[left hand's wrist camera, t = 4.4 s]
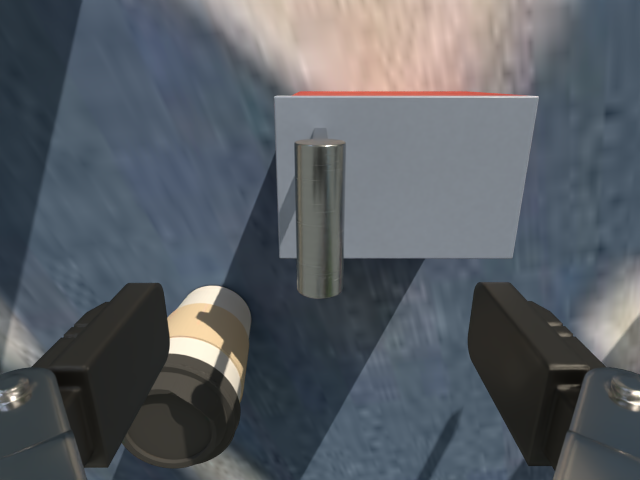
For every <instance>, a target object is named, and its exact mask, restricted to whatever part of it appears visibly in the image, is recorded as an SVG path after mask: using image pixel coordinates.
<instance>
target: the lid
mask: <svg viewBox="0 0 640 480" xmlns="http://www.w3.org/2000/svg"><path fill="white" fill-rule="evenodd" d="M538 99H539V97H538V96H275V97H274V117H275V146H276V174H277V203H278V232H279V257H280V258H297V289H298V291H299V293H300V294H302V295H304V296H306V297H309V298H315V299H325V298H331V297H334V296H337V295H339V294H340V293H341V292H342V290H343V271H344V258H485V259H511V258H512V257H513V251H514V245H515V238H516V232H517V226H518V220H519V214H520V208H521V202H522V196H523V190H524V184H525V178H526V172H527V166H528V160H529V153H530V147H531V141H532V135H533V129H534V123H535V117H536V111H537V105H538Z"/></svg>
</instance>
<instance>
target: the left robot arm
mask: <svg viewBox="0 0 640 480" xmlns="http://www.w3.org/2000/svg"><path fill="white" fill-rule="evenodd" d="M169 349H170V334H169V327H168V320H167V313H166V305H165V298H164V292H163V288H162V286H161V284H159V283H128V284H126V285H125V286H124V287H123V288H122V289H121V290H120V291H119V293H118V294H117V295H116V296H115V297H114V298H113V299H112V300H111V301H110V302H105V303H103V304H101V305H99V306H97V307H96V308H94V309H92V310H90V311H88V312H87V313H86V314H85V315H84V316H83V317H82V318H81V319H80V320H79V321H77V322H76V323H75V324H74V327H71V328H70V329H69V330H68V331H67V332H66V333H65V334H64V338H60V339H59V340H58V341H57V342H56V343H55V344H54V345H53V346H52V347H51V348H50V349H49V350H48V351H47V352H46V353H45V354H44V355H43V356H42V357H41V358H40V359H39V360H38V361H37V362H36V363H35V364H34V365H33V366H32V367H30V368H22V369H17V370H13V371H10V372H6V373H4V374H1V375H0V480H87V477H86V474H85V471H84V468H108V467H109V465H110V463H111V461H112V459H113V458H114V456H115V454H116V452H117V450H118V448H119V447H120V445H121V443H122V441H123V439H124V437H125V436H126V434H127V432H128V430H129V428H130V427H131V425H132V423H133V421H134V419H135V417H136V416H137V414H138V412H139V410H140V408H141V407H142V405H143V403H144V401H145V399H146V397H147V396H148V394H149V392H150V390H151V388H152V387H153V385H154V383H155V381H156V379H157V377H158V376H159V374H160V372H161V370H162V368H163V366H164V365H165V363H166V361H167V358H168V355H169ZM468 350H469V355H470V358H471V361H472V363H473V364H474V366H475V368H476V370H477V372H478V374H479V376H480V377H481V379H482V381H483V383H484V385H485V387H486V388H487V390H488V392H489V394H490V396H491V398H492V399H493V401H494V403H495V405H496V407H497V409H498V411H499V412H500V414H501V416H502V418H503V420H504V422H505V423H506V425H507V427H508V429H509V431H510V433H511V434H512V436H513V438H514V440H515V442H516V444H517V446H518V447H519V449H520V451H521V453H522V455H523V457H524V458H525V460H526V462H527V464H528V466H552V467H553V469H554V470H555V474H554V477H553V480H640V375H639V374H636V373H634V372H630V371H627V370H623V369H618V368H610V367H605V366H604V365H603V364H602V363H601V362H600V361H599V360H598V359H597V358H596V357H595V356H594V355H593V354H592V353H591V352H590V351H589V350H588V349H587V348H586V347H585V346H584V345H583V344H582V343H581V342H580V341H579V340H578V339H577V338H576V337H573V334H572V333H571V332H570V331H569V330H568V329H567V328H566V327H565V326H563V324H562V323H561V322H560V321H559V320H558V319H557V318H556V317H555V316H554V315H553V314H552V313H551V312H550V311H548V310H547V309H545V308H543V307H541V306H539V305H538V304H536V303H534V302H532V301H527V300H526V299H525V298H524V297H523V296H522V295H521V294H520V293H519V292H518V291H517V289H516V288H515V287H514V286H513V285H512V284H511V283H509V282H479V283H477V285H476V286H475V289H474V295H473V302H472V310H471V317H470V324H469V332H468Z"/></svg>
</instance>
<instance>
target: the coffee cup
mask: <svg viewBox="0 0 640 480" xmlns="http://www.w3.org/2000/svg"><path fill="white" fill-rule="evenodd" d="M167 320H168V327H169V334H170V349H169V355H168V358H167V361H166V363H165V365H164V366H163V368H162V370H161V372H160V374H159V376H158V377H157V379H156V381H155V383H154V385H153V387H152V388H151V390H150V392H149V394H148V396H147V397H146V399H145V401H144V403H143V405H142V407H141V408H140V410H139V412H138V414H137V416H136V417H135V419H134V421H133V423H132V425H131V427H130V428H129V430H128V432H127V434H126V436H125V437H124V439H123V441H122V444H123V445H124V446H125V448H126V449H127V450H128V451H129V452H131V453H132V454H133V455H134V456H136V457H137V458H139V459H141V460H142V461H144V462H147V463H149V464H152V465H155V466H159V467H164V468H184V467H189V466H192V465H195V464H199V463H203V462H206V461H208V460H210V459H213V458H214V457H216V456H218V455H219V454H220V453H222V452H223V451H224V450H225V449H226V448H227V447H228V445H229V444H230V443H231V441H232V439H233V437H234V434H235V431H236V429H237V426H238V424H239V420H240V401H241V399H242V395H243V389H244V381H245V374H246V366H247V359H248V351H249V333H250V326H251V314H250V310H249V308H248V306H247V304H246V303H245V301H244V300H243V299H242V298H241V297H240V296H239V295H238V294H236V293H235V292H233V291H231V290H229V289H227V288H224V287H220V286H205V287H201V288H198V289H196V290H194V291H193V292H191V293H190V294H189V295H188V296H187V297H186V298H185V300H184V301H183V302H182V303H181V305H180V306H179V307H178V308H177V310H175V311H174V312H173V313H172V314H171V315H170V316H169V317H168V318H167Z"/></svg>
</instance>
